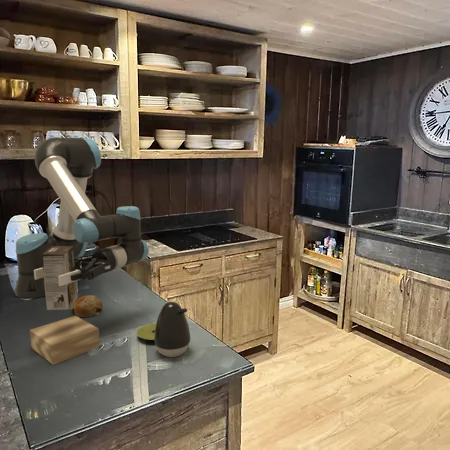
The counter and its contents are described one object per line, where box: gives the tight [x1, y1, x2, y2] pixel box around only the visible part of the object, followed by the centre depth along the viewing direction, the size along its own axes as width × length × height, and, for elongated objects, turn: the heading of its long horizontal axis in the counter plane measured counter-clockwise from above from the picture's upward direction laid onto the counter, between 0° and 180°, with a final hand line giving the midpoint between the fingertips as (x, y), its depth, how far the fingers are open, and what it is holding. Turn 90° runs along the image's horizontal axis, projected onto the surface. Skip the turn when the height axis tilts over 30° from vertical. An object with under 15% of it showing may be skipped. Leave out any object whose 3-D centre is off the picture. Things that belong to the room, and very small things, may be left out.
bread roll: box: [70, 295, 104, 318], centre depth 145 cm, size 10×10×8 cm
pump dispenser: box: [153, 301, 191, 358], centre depth 116 cm, size 10×10×15 cm
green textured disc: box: [136, 322, 157, 341], centre depth 127 cm, size 11×11×2 cm
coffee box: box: [42, 246, 79, 311], centre depth 116 cm, size 9×6×16 cm
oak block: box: [29, 315, 101, 366], centre depth 120 cm, size 14×14×6 cm
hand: (46, 277), depth 112 cm, fingers closed on coffee box, 10 cm apart
